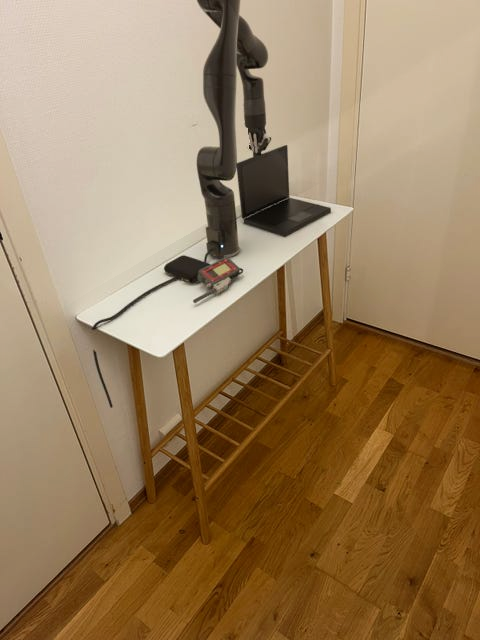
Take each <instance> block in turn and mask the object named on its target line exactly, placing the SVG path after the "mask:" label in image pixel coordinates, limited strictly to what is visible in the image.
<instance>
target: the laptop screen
mask: <svg viewBox="0 0 480 640" xmlns="http://www.w3.org/2000/svg"><path fill="white" fill-rule="evenodd" d="M288 150H289V149H288V144H284V145H282V146H279V147H276V148H273V149H271V150H268V151H265V152H262V153H261V154H260V155H257V156H254V157H253V156H252V157H249V158H247V159H246V158H245V159H244V160H240V161H237V167H236V175H237V185H238V195H239V205H240V214H241V216H240V217H241V219H242V220H244V219H245V218H247V217H249V216H251V215H253V214H255V213H257V212H260V211H262V210H264V209H266V208H268V207H270V206H272V205H275V204H277V203H279V202H281V201H283V200H285V199H287V198H290V180H289V179H290V178H289V175H290V174H289V154H288V153H289V152H288Z"/></svg>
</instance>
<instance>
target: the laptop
mask: <svg viewBox="0 0 480 640" xmlns="http://www.w3.org/2000/svg"><path fill="white" fill-rule="evenodd" d="M331 212H332V208H331V207H329V206H325V205H321V204H317V203H313V202H310V201H305V200H301V199H299V198H298V199H297V198H293V197H289V198H287V199H285V200H283V201H280V202H278V203H276V204H274V205H272V206H270V207H267V208H265V209H263V210H261V211H259V212H257V213H255V214H252V215H250V216H248V217H246V218H244V219H243V224H244V225H246V226H247V225H248V226H251V227H253V228H256V229H260V230H263V231H266V232H268V233H272V234H274V235H278V236H282V237H284V238H287V236H290V235H292V234H293V233H295V232H297V231H299V230H301V229H302V228H304V227H306V226H308V225H310V224H312V223H313V222H316V221H317V220H319V219H321V218H323V217H324V216H327V215H328V214H330V213H331Z"/></svg>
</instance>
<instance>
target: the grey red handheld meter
mask: <svg viewBox="0 0 480 640" xmlns="http://www.w3.org/2000/svg"><path fill="white" fill-rule="evenodd" d="M209 264H210V265H208V266H207V267H205V268H203V269H201V270H199V272H198V277H197V278H198V283H202V284H203V285H204V286H205V288H206V289H207V290H208V291H207V292H205V293H203V294H202V295H199V296H198V297H196V298H194V299H193V300H192V303H193V304H197V303H198V302H200V301H202V300H204V299H205V298H207V297H209V296H211V295H214V294H216V295H219V294H220V293H222V292H223V291H225V290H227V289H228V286H229V284H230V283H231V282H232V280H233V279H235V278H238V277H239V276H240V275H241V274H243V273H244V269H243V268H241V267H240V266H238V265H237V264H236V262H234V261H233V260H232V259H231V257H224V258H222V259H218V260H216V261H215V262H213V263H209Z"/></svg>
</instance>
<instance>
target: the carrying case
mask: <svg viewBox="0 0 480 640" xmlns="http://www.w3.org/2000/svg"><path fill="white" fill-rule="evenodd" d="M210 264H211V263H209V262H207V261H206V262H204V260H201V259H197V258H194V257H191V256H189V255H180V256H178V257H176V258H174V259H173V260H171V261H169V262H166V263H165V265H164V267H163V270H164V272H165V273H166V274H169V275H171V276H174V277H179V278H178V279H180V280H181V281H182V282H187V283H188V282H190V283H193V284H194V283H199V281H198V278H197V277H198V272H199V270H201V269H203V268H205V267H207V266H208V265H210Z"/></svg>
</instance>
